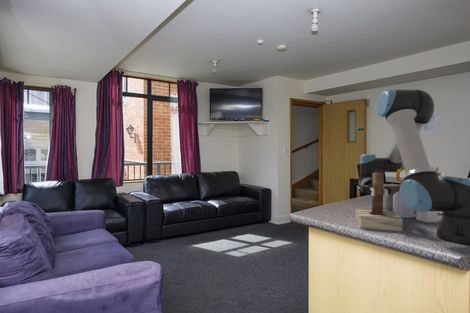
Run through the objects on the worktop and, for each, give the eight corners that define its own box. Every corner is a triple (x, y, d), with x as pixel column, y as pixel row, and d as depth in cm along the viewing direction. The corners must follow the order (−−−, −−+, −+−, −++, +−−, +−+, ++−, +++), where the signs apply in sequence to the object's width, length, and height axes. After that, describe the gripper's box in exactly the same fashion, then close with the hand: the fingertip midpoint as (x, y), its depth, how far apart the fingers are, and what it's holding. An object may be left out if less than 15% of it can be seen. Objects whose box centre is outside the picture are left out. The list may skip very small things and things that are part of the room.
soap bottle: (416, 218, 148) (417, 168, 147) (395, 217, 149) (396, 167, 149) (409, 214, 156) (410, 166, 156) (390, 213, 158) (391, 166, 157)
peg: (384, 214, 133) (385, 173, 132) (375, 215, 132) (376, 173, 132) (379, 212, 137) (380, 172, 137) (369, 212, 137) (370, 172, 136)
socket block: (355, 219, 144) (355, 209, 144) (392, 222, 140) (392, 211, 140) (360, 228, 129) (360, 216, 129) (402, 231, 125) (402, 219, 125)
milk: (437, 222, 141) (439, 174, 141) (427, 222, 140) (428, 174, 139) (425, 218, 147) (427, 173, 146) (415, 219, 145) (417, 173, 145)
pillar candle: (404, 209, 170) (404, 182, 170) (397, 211, 163) (398, 183, 163) (386, 207, 177) (386, 181, 177) (379, 209, 170) (379, 182, 170)
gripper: (389, 194, 150) (402, 203, 127) (351, 192, 154) (358, 200, 131) (389, 179, 149) (403, 185, 127) (351, 178, 154) (358, 183, 131)
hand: (380, 193), depth 129 cm, fingers closed on peg, 4 cm apart
